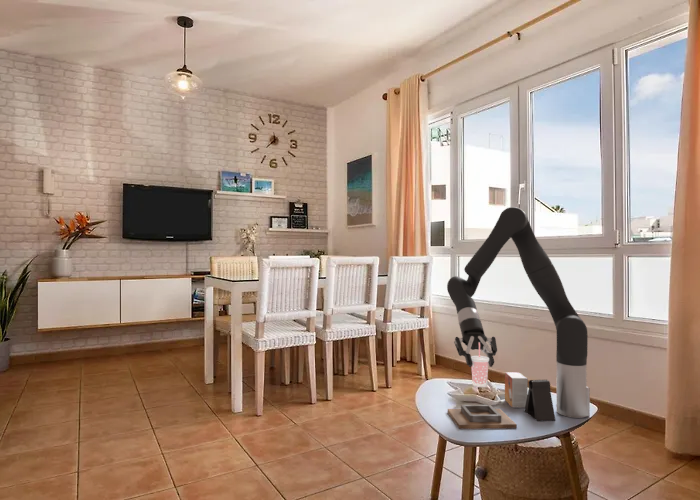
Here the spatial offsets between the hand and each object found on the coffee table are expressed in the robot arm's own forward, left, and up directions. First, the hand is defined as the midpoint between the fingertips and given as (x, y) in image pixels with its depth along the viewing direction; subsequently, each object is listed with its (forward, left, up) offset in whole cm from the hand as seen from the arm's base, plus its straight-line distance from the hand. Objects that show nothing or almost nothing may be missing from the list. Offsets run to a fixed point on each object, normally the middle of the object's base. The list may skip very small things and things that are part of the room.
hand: (481, 365), depth 142 cm
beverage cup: (0, -2, -7) cm, 7 cm away
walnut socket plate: (0, -1, -18) cm, 18 cm away
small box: (-18, -16, -18) cm, 30 cm away
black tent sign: (-21, -4, -18) cm, 28 cm away
